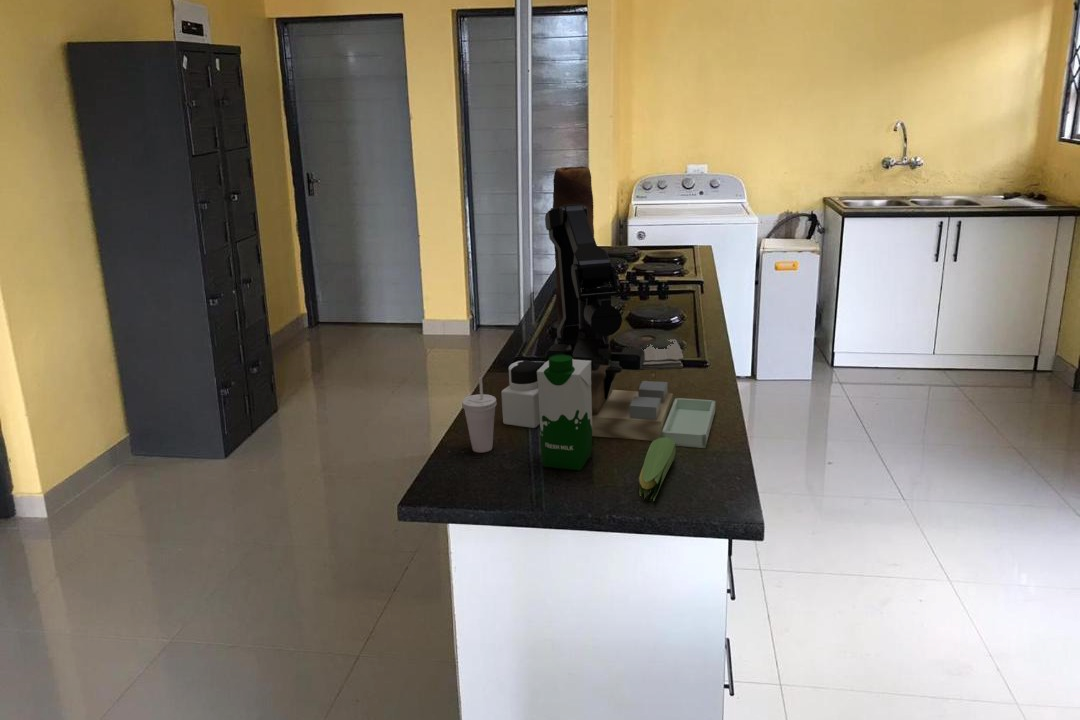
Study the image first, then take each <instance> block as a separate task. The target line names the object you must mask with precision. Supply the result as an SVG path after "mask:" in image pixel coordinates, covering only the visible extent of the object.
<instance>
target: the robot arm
mask: <svg viewBox="0 0 1080 720" xmlns="http://www.w3.org/2000/svg"><path fill="white" fill-rule="evenodd" d="M544 223H545V228H546V231H548V237H549V240H550V241H551V242H552V244H553V245H555V247H556V248H557V250H558V259H559V271H560V284H561V296H562V309H563V319H562V321H561V323H560V325H559V327H558V326H557V329H556V337H555V339H554V343H553V344H552V345H551V346H550V347H549V348H548V350H546V352H545V353H544V363H545V362H547V361H548V360H549V357H551V356H553V355H560V354H563V355H569V356H571V357H572V359H574V360H589V361H591V371H596V370H598V369H599V367H600V365H604V364H607V365H608V367H607V369H606V370H605V372H606V382H605V399H607V398H608V396H609V393H610V390H611V387H612V384H613V385H614V381H615V379H616V376H617V374H618V373H619V374H620V373H621V372H622V371H623V370H628V371H639V370H642V369H641V367H642V365H643V363H644V361H645V352H644V350H643V349H642V348H631V347H629V346H627V347H626V346H625V347H623V349H622V351H621V352H616V351H615V352H614V351H612V349H611V343H610V336H613V335H614V334H615V333H617V332H618V331H619V330H620V328H621V326H622V323H623V317H622V314H621V311H620V310H619V309H618V308H617V307H616V306H615V305H614V304H613V303H612V297H615V296H616V297H617V296H620V292H619V290H620V287H621V284H620V280H619V276H618V272H617V268H616V266H615V264H614V262H613V261H611V259H610V256H609V254H608V252H607V251H606V250H605V249H603V248H601V247H599V246H598V244H597V242H596V239H595V235H594V236H593V233H592V230H591V228H590V225H589V219H588V208H586V206H585V205H582V204H568V205H564V206H561V207H560V208H553V207H551V208H550V210H548V211H547V212H546V213H545V217H544Z"/></svg>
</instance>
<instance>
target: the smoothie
mask: <svg viewBox="0 0 1080 720" xmlns="http://www.w3.org/2000/svg"><path fill="white" fill-rule="evenodd" d="M478 382H479V394H472V395H468V396H466V397H464V398H463V399H462V400H461V407H462V409H464V410H463V411H464V414H465V420H466V423H467V429H468V435H469V439H470V443H471V449H472V451H473V452H474V453H486V452H489V451H491V450H492V449H493V441H494V430H495V429H494V426H495V412H496V411H495V410H496V406H497V398H496V396H494V395H491V394H487V393H486V394H485V393H484V388H483V387H484V385H483V384H484V383H483V377H479V378H478Z"/></svg>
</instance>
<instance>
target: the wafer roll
mask: <svg viewBox="0 0 1080 720" xmlns="http://www.w3.org/2000/svg"><path fill="white" fill-rule="evenodd" d="M591 174H592V173H591V170H590V169H589V167H587V166H569V167H568V166H567V167H565V166H563V167H557V168H556V169H555V170H554V174H553V192H552V199H553V200H552V208H560V207H561V206H564V205H568V204H582V205H585V206H586V208H588V219H589V225H590V228H591V230H592V233H593V236H594V237H595V228H594V217H595V216H594V195H593V187H592V175H591ZM553 245H554V244H553ZM554 261H555V269H554V270H555V276H556V280H555V282H556V283H555V285H556V290H555V297H556V309H557V310H556V311H557V319H558V320H557V328H558V327H559V325H560V323H561V321H562V319H563V309H562V296H561V284H560V271H559V259H558V250H557V248H556V247H555V245H554Z"/></svg>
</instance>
